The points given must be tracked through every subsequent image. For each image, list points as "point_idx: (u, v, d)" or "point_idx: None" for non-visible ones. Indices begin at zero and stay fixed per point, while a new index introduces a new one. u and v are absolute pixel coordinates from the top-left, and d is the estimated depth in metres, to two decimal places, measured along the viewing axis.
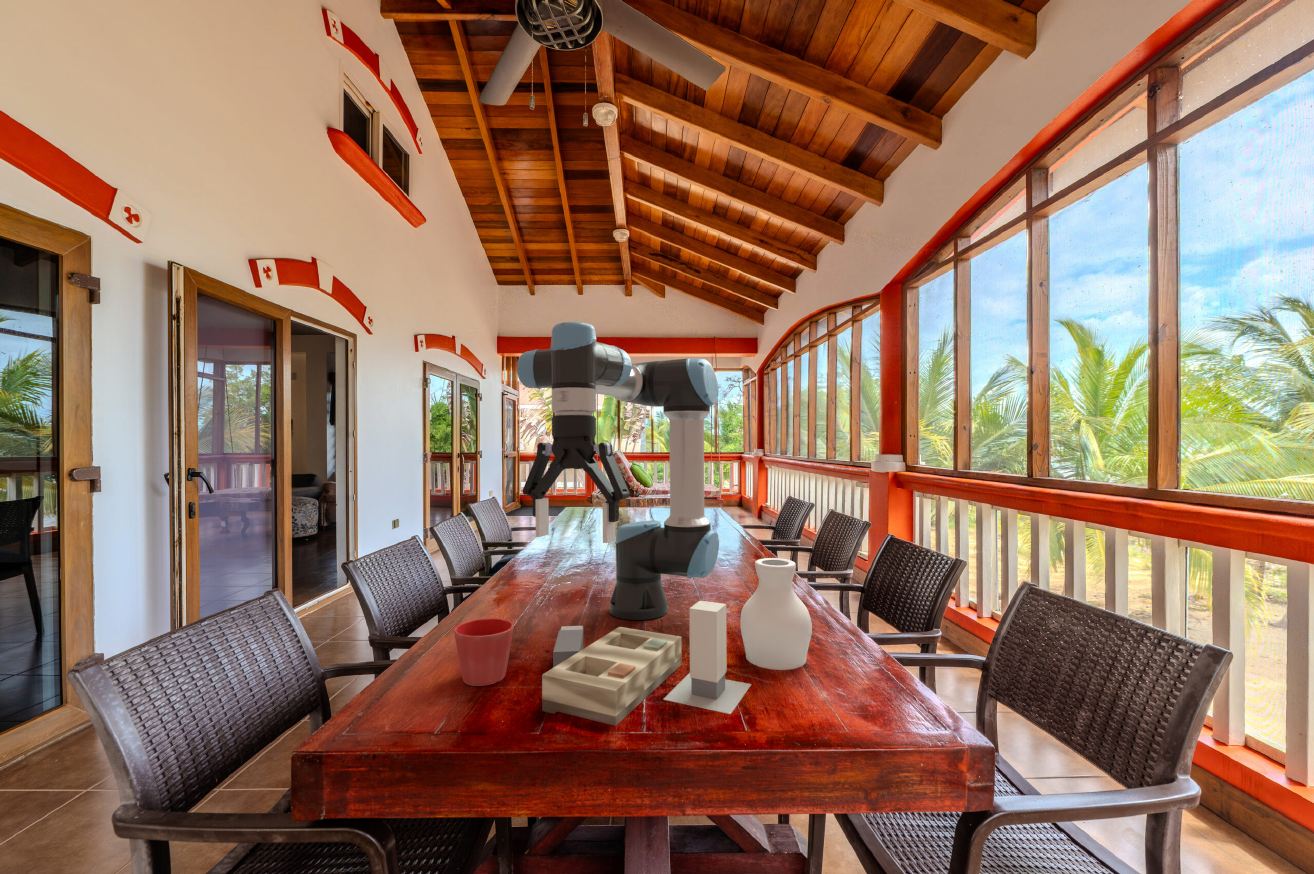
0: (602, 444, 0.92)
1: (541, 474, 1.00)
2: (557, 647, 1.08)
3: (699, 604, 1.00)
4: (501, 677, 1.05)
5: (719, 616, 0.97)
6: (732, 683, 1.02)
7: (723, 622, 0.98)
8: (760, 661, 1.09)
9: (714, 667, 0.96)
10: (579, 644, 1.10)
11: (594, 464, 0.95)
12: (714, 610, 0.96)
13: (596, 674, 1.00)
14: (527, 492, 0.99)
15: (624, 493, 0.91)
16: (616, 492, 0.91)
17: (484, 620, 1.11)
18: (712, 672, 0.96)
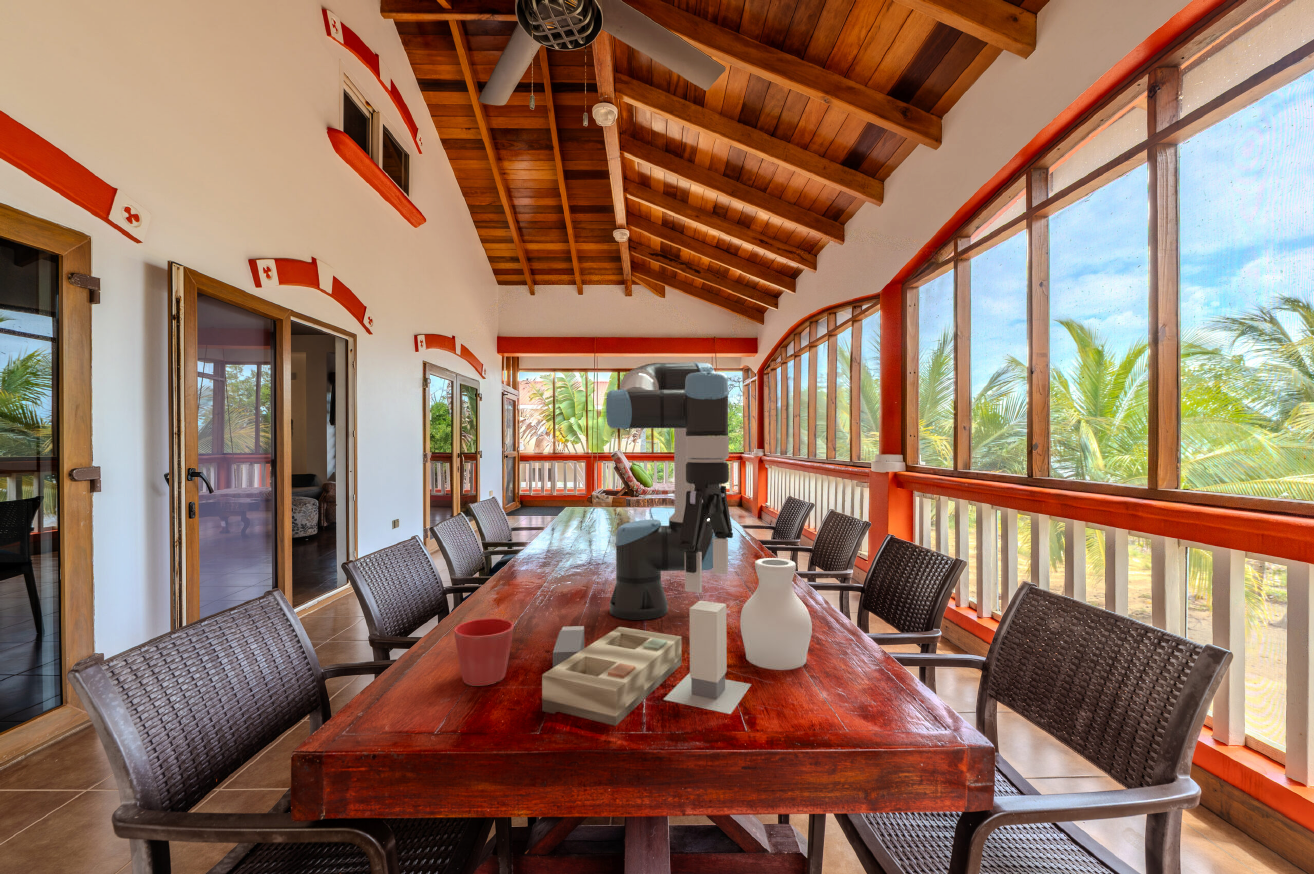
0: None
1: (724, 515, 1.05)
2: (557, 648, 1.08)
3: (699, 604, 1.00)
4: (501, 677, 1.05)
5: (719, 616, 0.97)
6: (732, 683, 1.02)
7: (723, 622, 0.98)
8: (760, 662, 1.09)
9: (714, 667, 0.96)
10: (579, 645, 1.10)
11: (700, 512, 0.95)
12: (714, 610, 0.96)
13: (596, 674, 1.00)
14: None
15: (682, 545, 0.90)
16: None
17: (484, 620, 1.11)
18: (712, 672, 0.96)
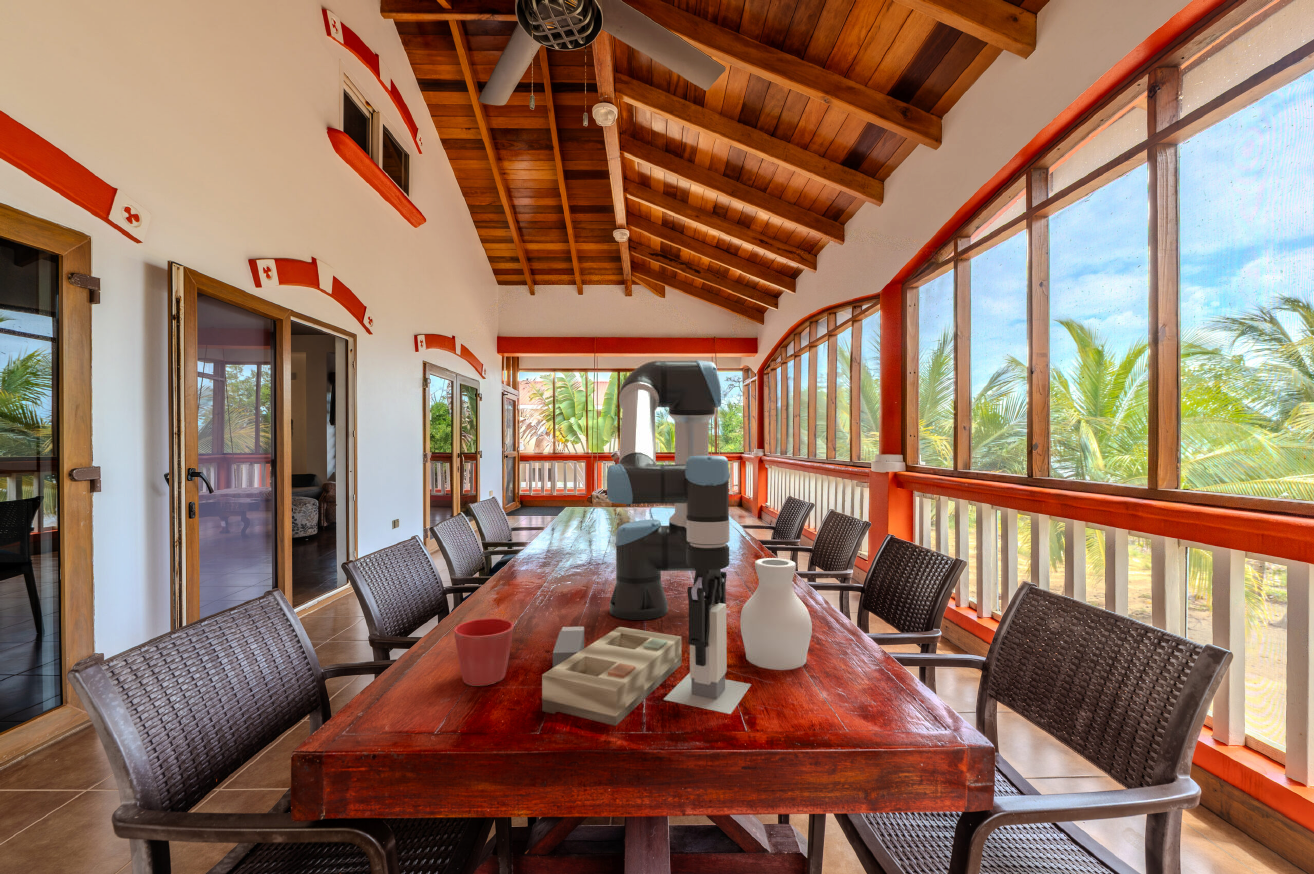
0: (687, 589, 0.94)
1: None
2: (557, 648, 1.08)
3: None
4: (501, 677, 1.05)
5: (719, 616, 0.97)
6: (732, 683, 1.02)
7: (723, 622, 0.98)
8: (760, 662, 1.09)
9: (714, 667, 0.96)
10: (579, 645, 1.10)
11: None
12: (714, 610, 0.96)
13: (596, 674, 1.00)
14: None
15: (693, 640, 0.93)
16: None
17: (484, 620, 1.11)
18: (712, 672, 0.96)
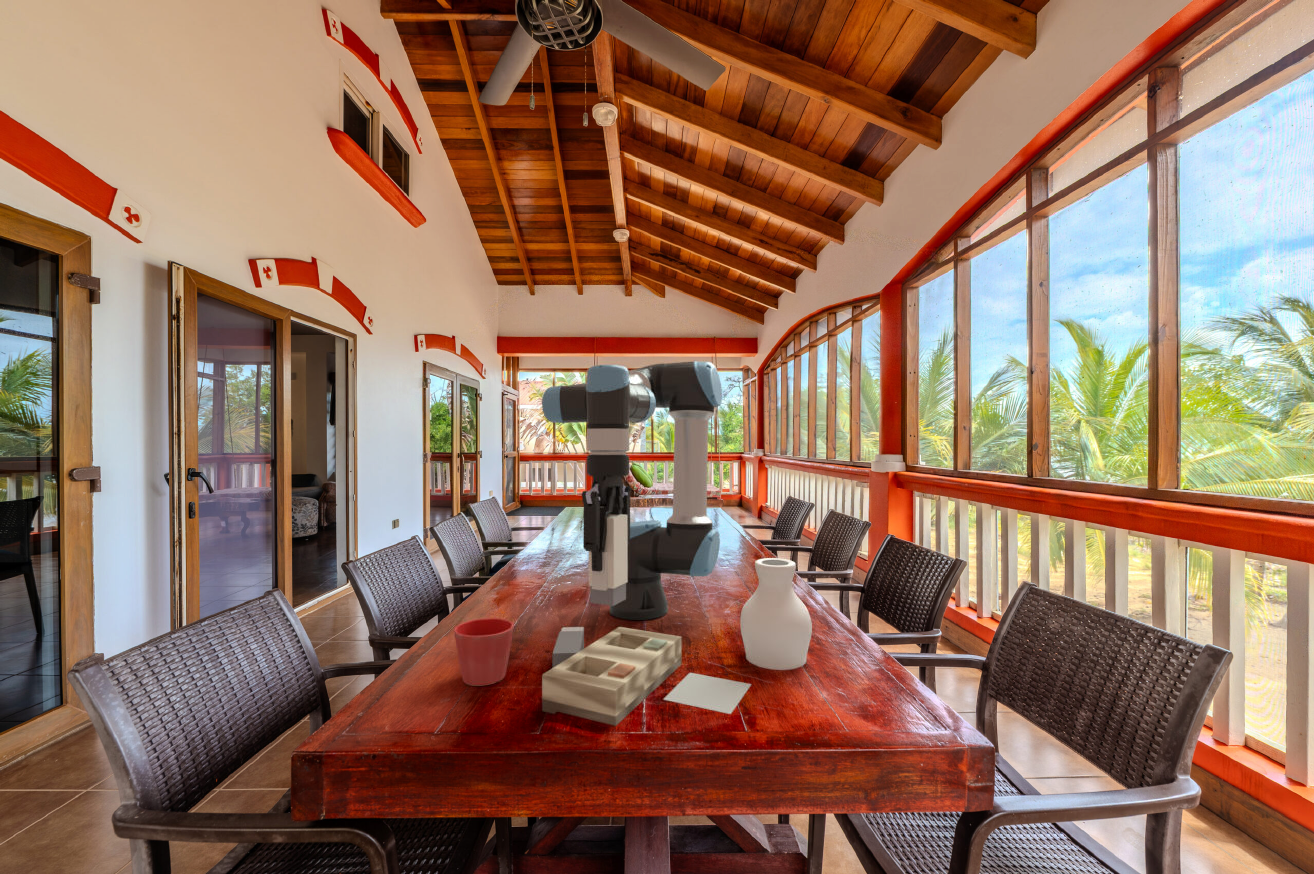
0: None
1: None
2: (557, 649, 1.08)
3: None
4: (501, 677, 1.05)
5: (617, 524, 0.97)
6: (732, 683, 1.02)
7: (623, 531, 0.99)
8: (760, 661, 1.09)
9: (611, 573, 0.96)
10: (579, 646, 1.09)
11: (601, 508, 0.97)
12: (611, 517, 0.97)
13: (596, 674, 1.00)
14: None
15: (587, 544, 0.94)
16: None
17: (484, 620, 1.11)
18: (609, 579, 0.96)
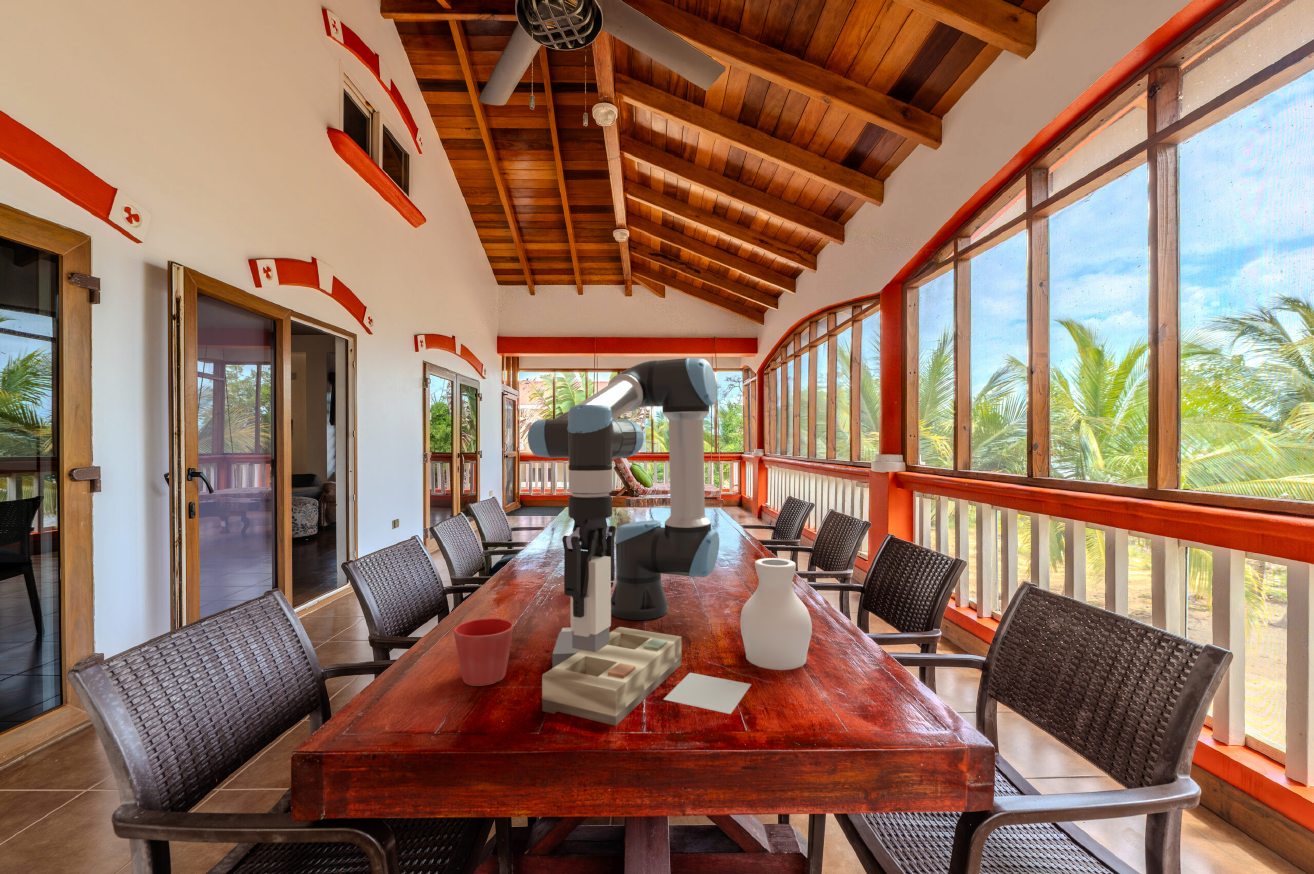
0: (563, 538, 0.92)
1: None
2: (557, 649, 1.07)
3: None
4: (501, 677, 1.05)
5: (599, 567, 0.95)
6: (732, 683, 1.02)
7: (606, 574, 0.96)
8: (760, 661, 1.09)
9: (593, 618, 0.94)
10: None
11: (583, 552, 0.94)
12: (593, 561, 0.94)
13: (596, 674, 1.00)
14: None
15: (568, 590, 0.91)
16: None
17: (484, 620, 1.11)
18: (591, 624, 0.94)
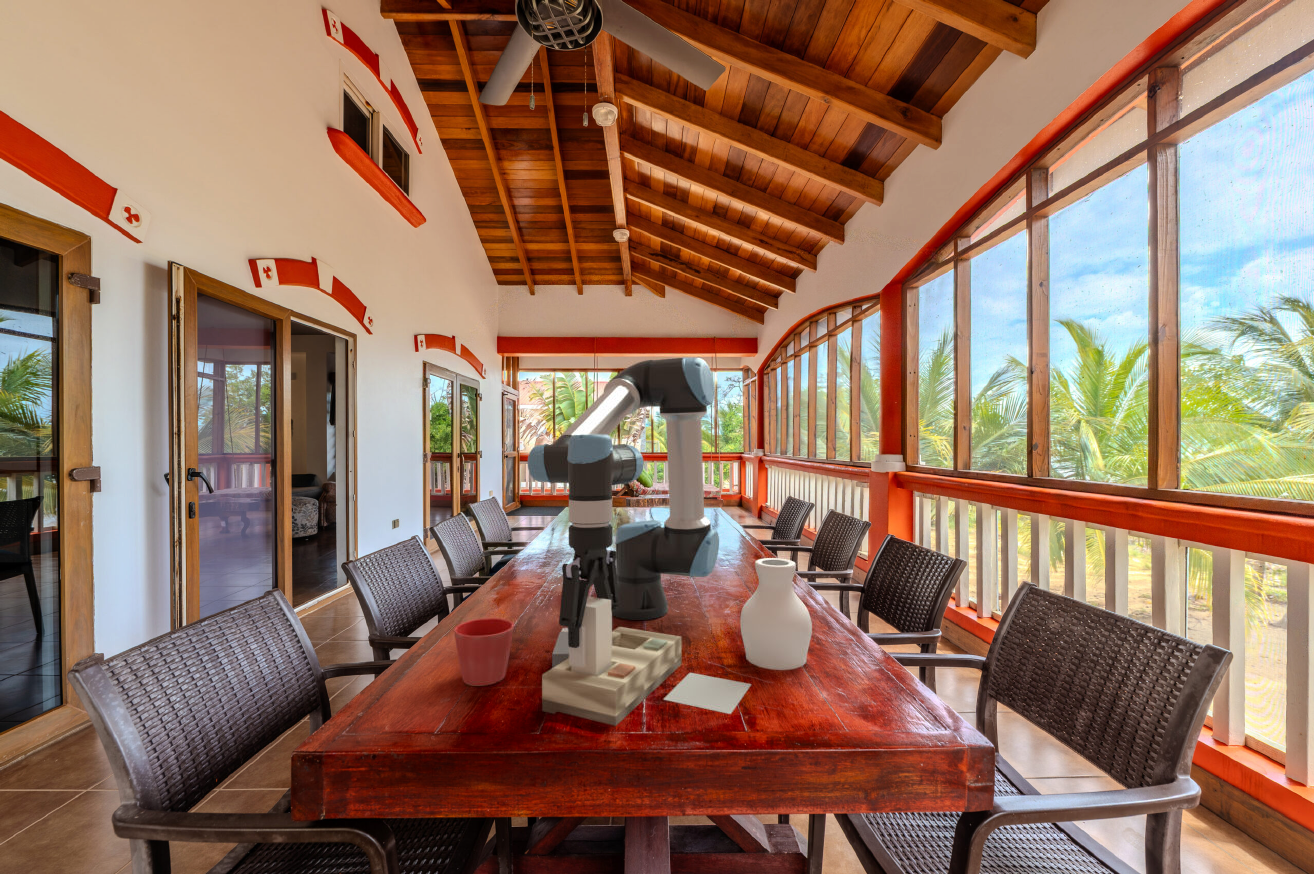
0: (563, 566, 0.91)
1: (611, 582, 1.02)
2: (556, 650, 1.07)
3: None
4: (501, 677, 1.05)
5: (600, 612, 0.95)
6: (732, 683, 1.02)
7: (606, 618, 0.97)
8: (760, 661, 1.09)
9: (593, 664, 0.94)
10: None
11: (581, 581, 0.94)
12: (594, 606, 0.94)
13: None
14: None
15: (563, 621, 0.90)
16: None
17: (484, 620, 1.11)
18: (591, 669, 0.94)
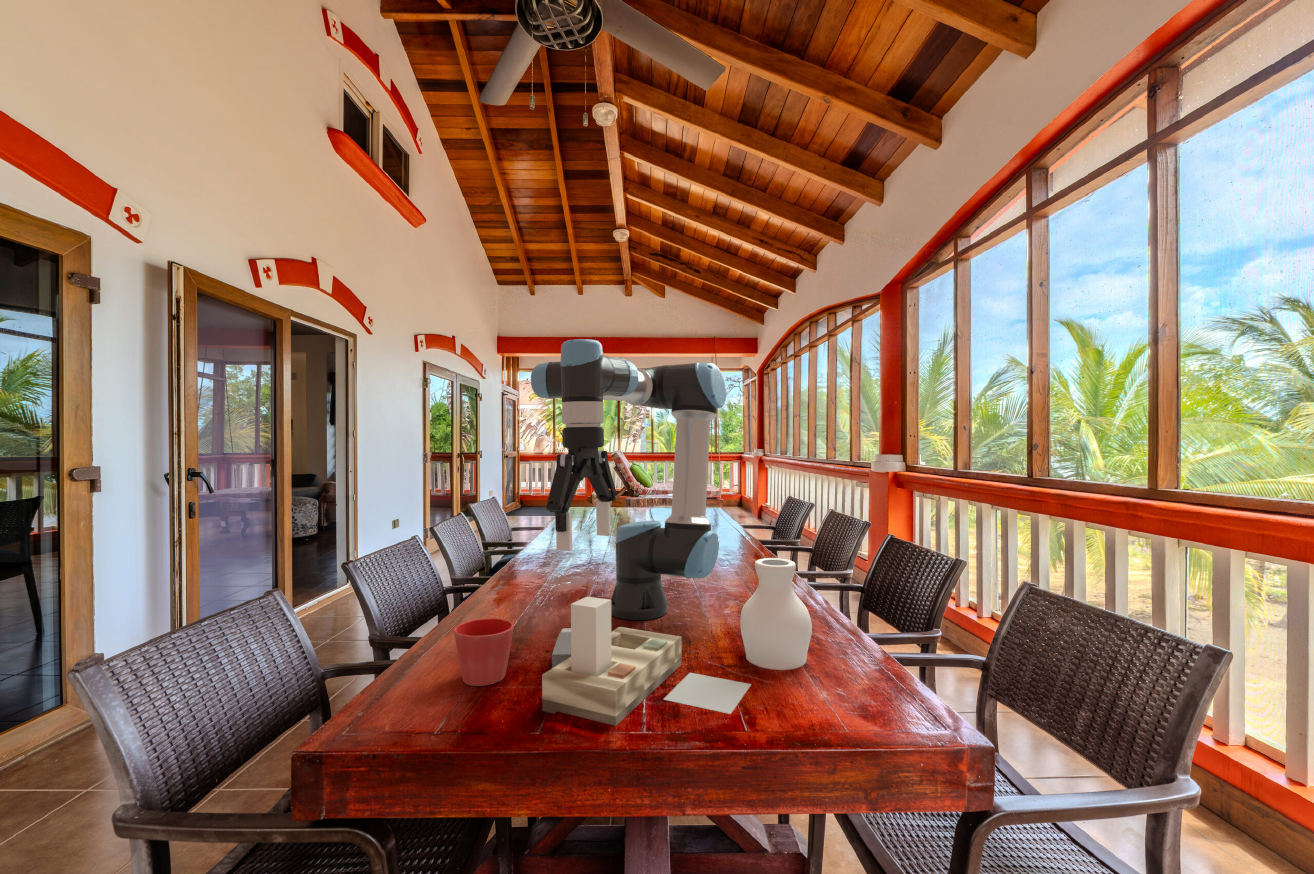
0: None
1: (606, 479, 1.09)
2: (556, 650, 1.07)
3: (583, 600, 0.98)
4: (501, 677, 1.05)
5: (600, 612, 0.95)
6: (732, 683, 1.02)
7: (606, 618, 0.97)
8: (760, 661, 1.09)
9: (593, 664, 0.94)
10: None
11: (573, 474, 0.99)
12: (594, 606, 0.94)
13: None
14: None
15: (550, 505, 0.93)
16: None
17: (484, 620, 1.11)
18: (591, 669, 0.94)
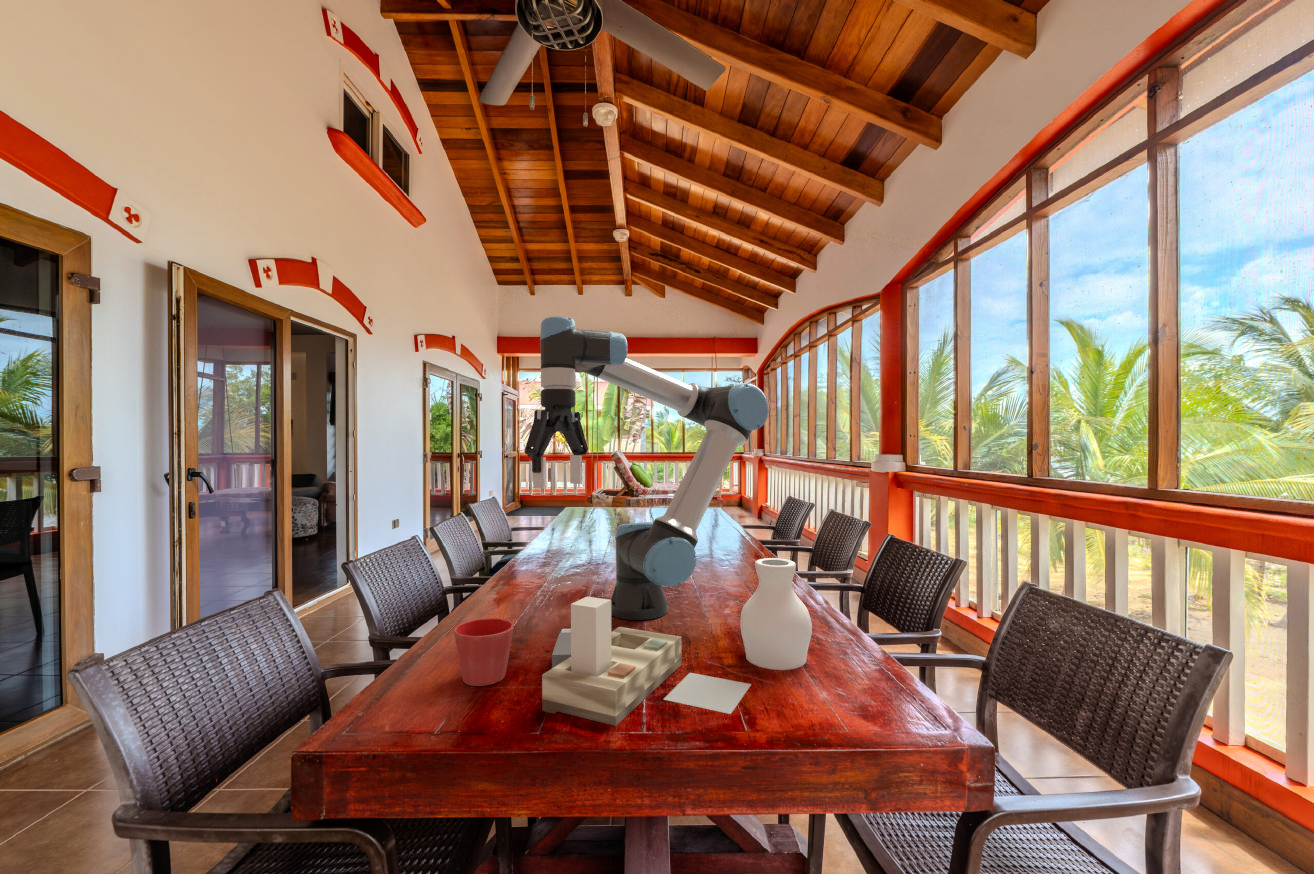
0: None
1: (579, 436, 1.30)
2: (556, 650, 1.07)
3: (583, 600, 0.98)
4: (501, 677, 1.05)
5: (600, 612, 0.95)
6: (732, 683, 1.02)
7: (606, 618, 0.97)
8: (760, 661, 1.09)
9: (593, 664, 0.94)
10: None
11: (548, 427, 1.20)
12: (594, 606, 0.94)
13: None
14: None
15: (527, 449, 1.14)
16: None
17: (484, 620, 1.11)
18: (591, 669, 0.94)
